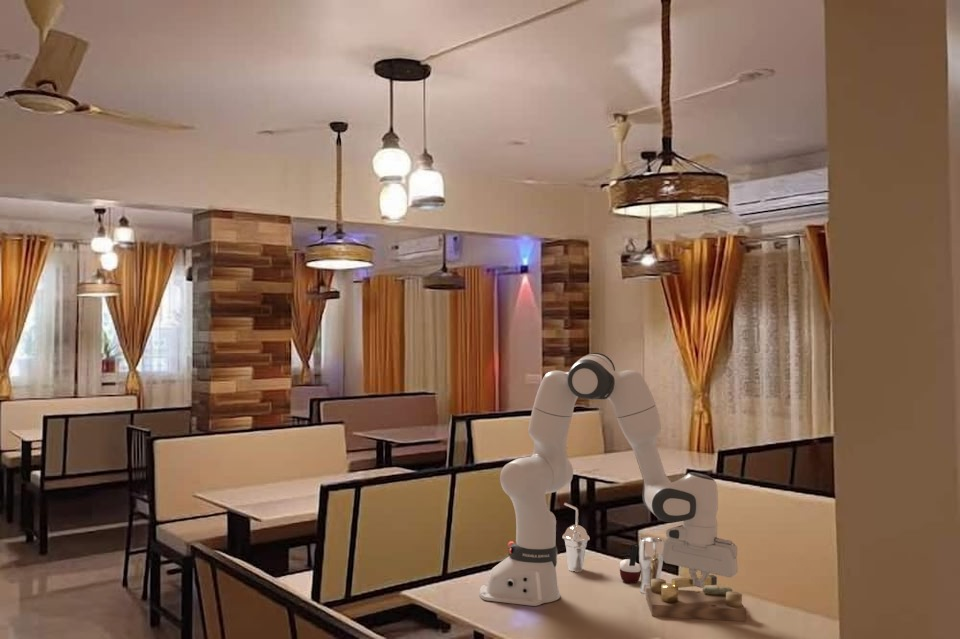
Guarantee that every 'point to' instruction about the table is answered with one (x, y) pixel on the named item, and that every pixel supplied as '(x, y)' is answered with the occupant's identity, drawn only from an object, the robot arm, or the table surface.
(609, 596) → the table surface
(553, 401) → the robot arm
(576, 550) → the cup with straw
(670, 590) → the lever handle
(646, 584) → the beer glass
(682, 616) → the levelling base
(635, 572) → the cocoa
